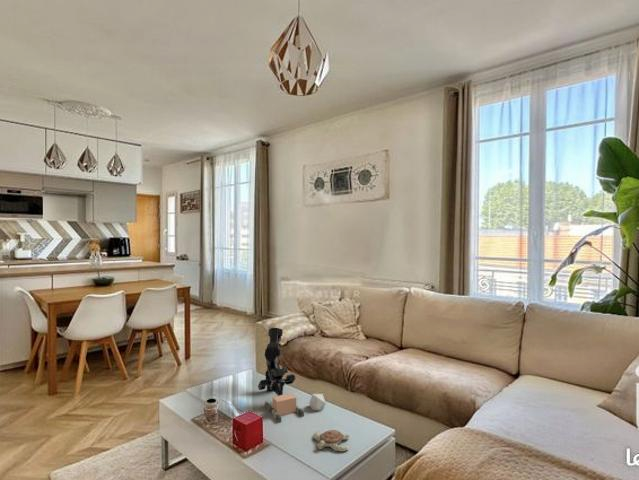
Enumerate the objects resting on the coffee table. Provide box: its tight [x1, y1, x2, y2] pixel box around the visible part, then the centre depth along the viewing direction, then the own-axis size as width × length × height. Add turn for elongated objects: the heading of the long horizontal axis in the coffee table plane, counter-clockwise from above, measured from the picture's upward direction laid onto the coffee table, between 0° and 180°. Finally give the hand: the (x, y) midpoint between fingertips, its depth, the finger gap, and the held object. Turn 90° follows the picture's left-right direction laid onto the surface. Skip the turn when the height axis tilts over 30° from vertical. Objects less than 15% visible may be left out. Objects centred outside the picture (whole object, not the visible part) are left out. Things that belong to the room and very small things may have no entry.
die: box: [308, 393, 327, 411], centre depth 186 cm, size 8×9×10 cm
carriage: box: [272, 392, 297, 417], centre depth 182 cm, size 6×10×7 cm, turn 119°
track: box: [264, 400, 305, 424], centre depth 182 cm, size 19×13×4 cm
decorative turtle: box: [312, 429, 350, 452], centre depth 157 cm, size 18×17×5 cm
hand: (281, 398), depth 184 cm, fingers closed
